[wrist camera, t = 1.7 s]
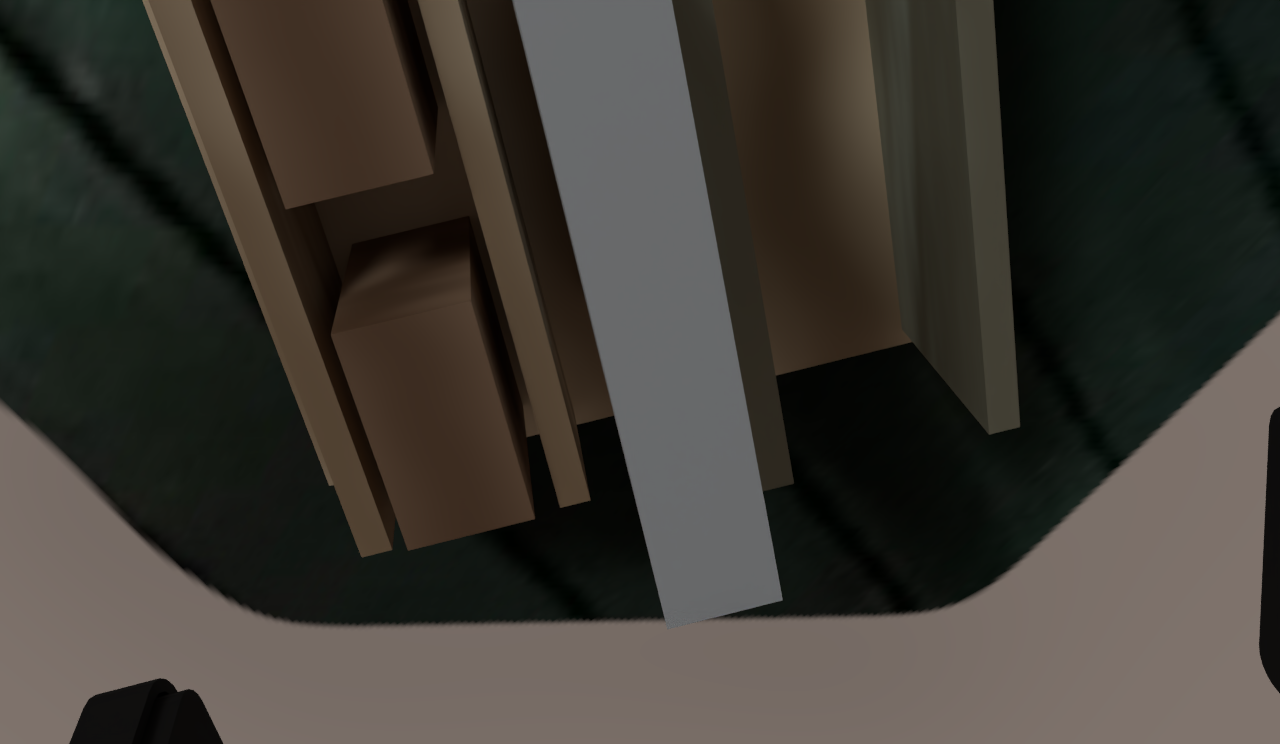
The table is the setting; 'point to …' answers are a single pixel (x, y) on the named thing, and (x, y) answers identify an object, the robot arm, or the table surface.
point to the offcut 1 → (333, 92)
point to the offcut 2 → (434, 383)
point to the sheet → (654, 293)
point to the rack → (738, 197)
